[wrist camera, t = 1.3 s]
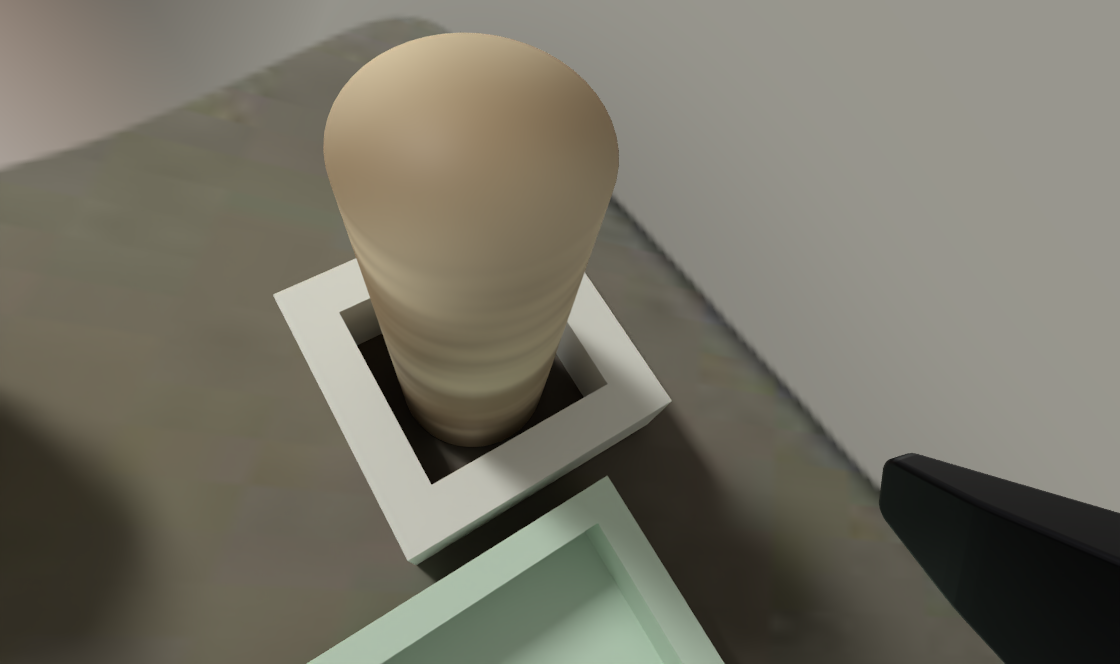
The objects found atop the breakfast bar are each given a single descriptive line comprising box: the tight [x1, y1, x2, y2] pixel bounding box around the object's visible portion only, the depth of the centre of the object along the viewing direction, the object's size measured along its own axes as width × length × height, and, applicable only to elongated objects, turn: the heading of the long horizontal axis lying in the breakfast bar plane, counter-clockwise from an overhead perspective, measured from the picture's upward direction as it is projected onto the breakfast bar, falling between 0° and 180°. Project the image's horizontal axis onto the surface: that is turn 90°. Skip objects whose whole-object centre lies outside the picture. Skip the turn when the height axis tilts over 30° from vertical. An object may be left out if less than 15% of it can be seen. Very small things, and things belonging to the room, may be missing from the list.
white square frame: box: [273, 259, 671, 565], centre depth 21 cm, size 9×9×3 cm
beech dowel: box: [323, 33, 619, 447], centre depth 17 cm, size 5×5×13 cm
